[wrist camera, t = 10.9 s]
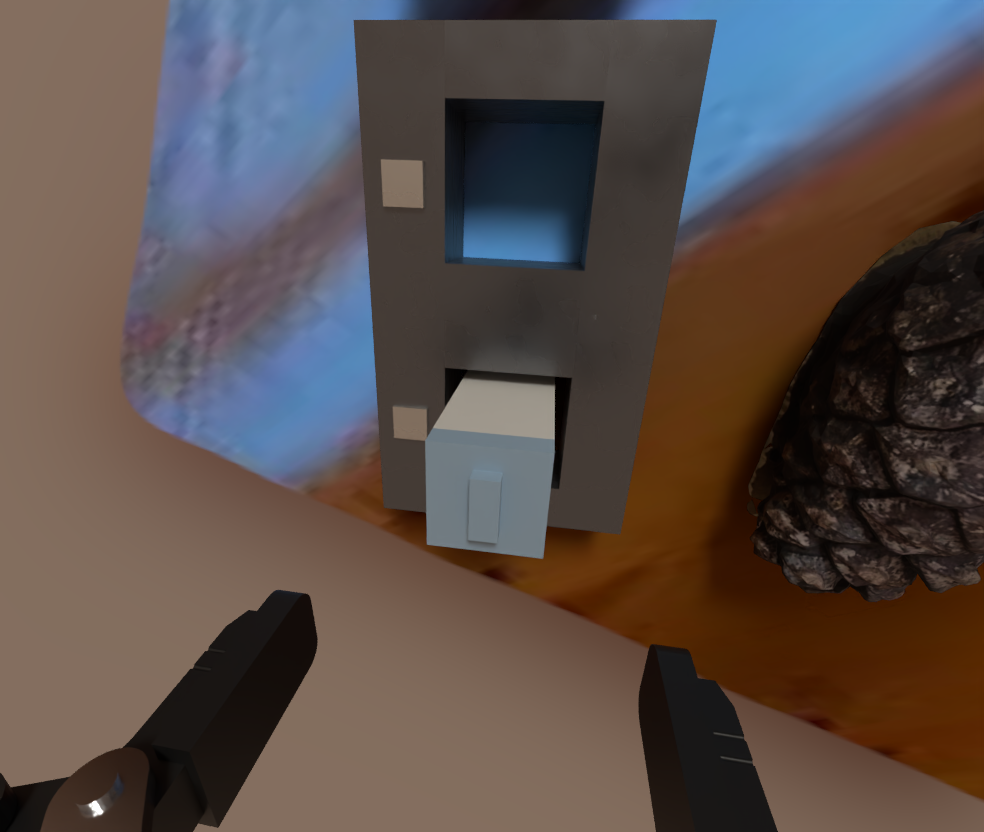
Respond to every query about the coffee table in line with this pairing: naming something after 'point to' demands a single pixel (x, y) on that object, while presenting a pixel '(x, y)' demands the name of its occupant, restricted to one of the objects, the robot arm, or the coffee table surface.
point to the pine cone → (885, 430)
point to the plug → (492, 464)
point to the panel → (519, 283)
